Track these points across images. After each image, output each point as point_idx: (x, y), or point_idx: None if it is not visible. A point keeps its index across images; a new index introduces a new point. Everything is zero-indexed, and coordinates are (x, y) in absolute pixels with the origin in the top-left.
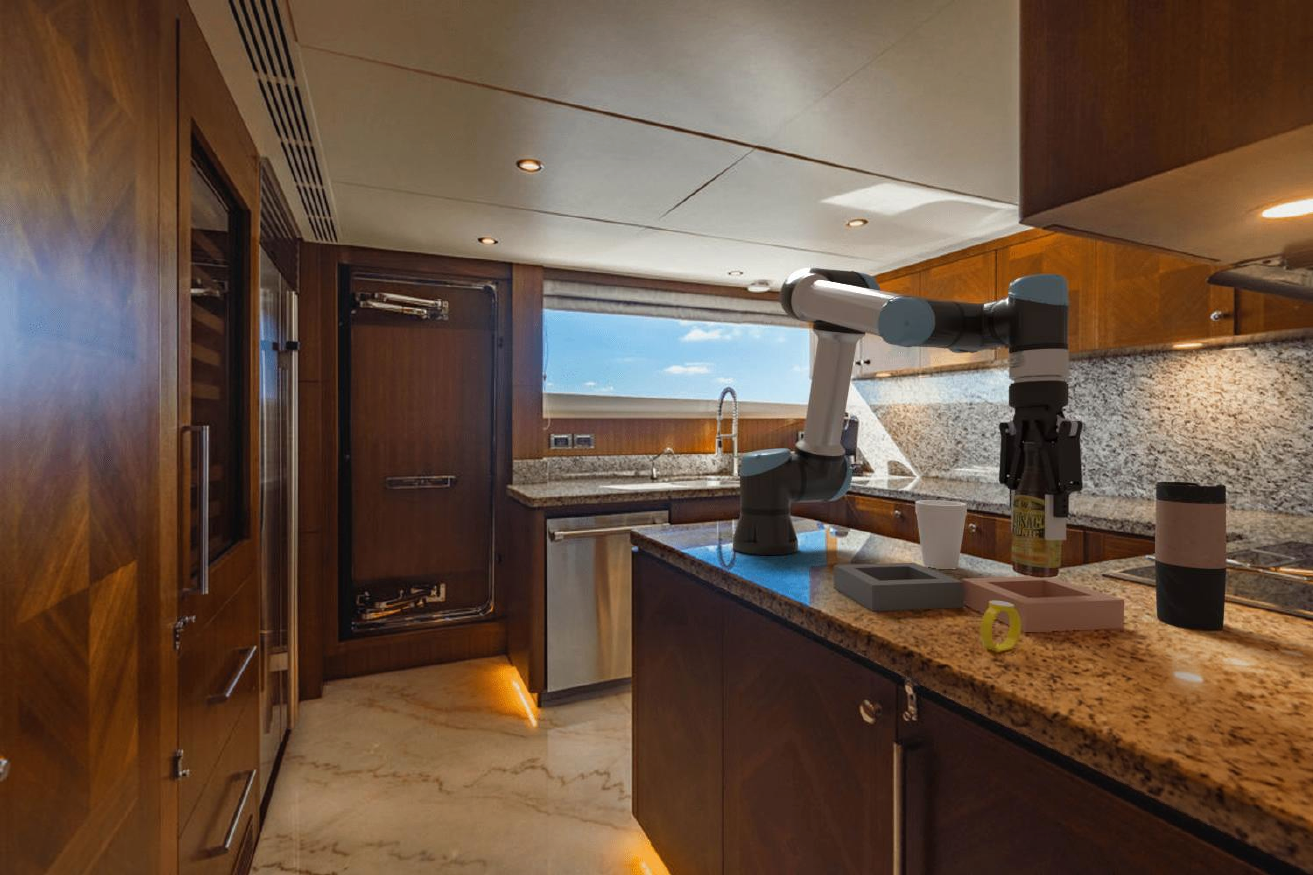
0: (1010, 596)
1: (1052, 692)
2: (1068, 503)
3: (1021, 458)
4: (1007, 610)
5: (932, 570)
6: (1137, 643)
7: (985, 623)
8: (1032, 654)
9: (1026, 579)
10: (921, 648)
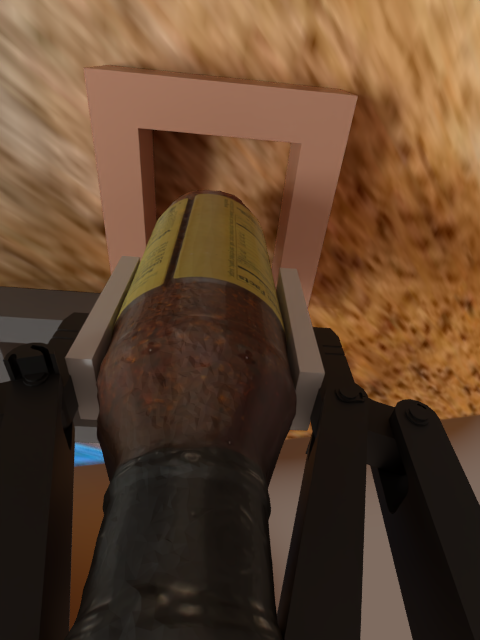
0: None
1: (440, 395)
2: (348, 367)
3: (66, 592)
4: None
5: (38, 320)
6: (406, 158)
7: None
8: (363, 346)
9: (128, 174)
10: None
